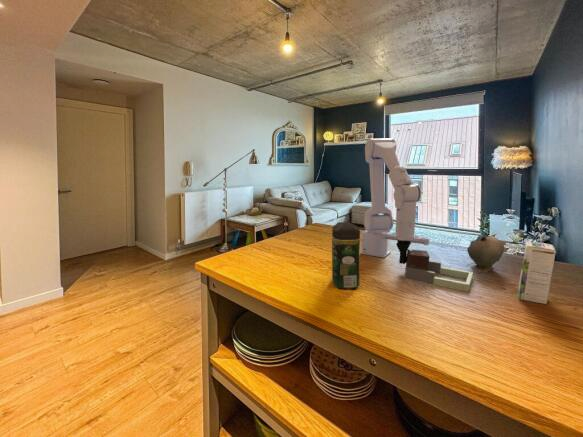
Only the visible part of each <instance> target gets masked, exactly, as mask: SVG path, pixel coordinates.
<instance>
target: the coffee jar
mask: <svg viewBox="0 0 583 437" xmlns="http://www.w3.org/2000/svg"><path fill="white" fill-rule="evenodd" d="M331 236H332V237H331V259H332V260H331V266H332V267H331V272H332V273H331V275H332V284H333V286H334V287H335V288H338V289H343V290H352V289H356V288H358V287H359V285H360V247H361V246H360V245H361V242H360V241H361V231H360V228H359V227H358V226H357V225H356V224H354V223H352V222H350V221H349V222H348V221H347V222H345V221H344V222H341V221H340V222H337V223H335V224H334V225H333V226H332V232H331Z"/></svg>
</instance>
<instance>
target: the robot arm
mask: <svg viewBox="0 0 583 437" xmlns="http://www.w3.org/2000/svg"><path fill="white" fill-rule="evenodd" d="M396 152H397V141H396V140H395V138H393V137H389V138H372V137H371V138H368V139H367V140H366V142H365V146H364V154H365V155H364V156H365V162H366V163H367V164H369V165H368V166H369V180H370V181H369V182H370V184H369V185H370V198H371V201H370V202H371V206H370V208H368V209H367V210H366V211H365V212H364V220H363V226H364V229H365V230H364V231H363V232H362V235H361V250H360V251H361V252H360V254H361V255H367V256H373V257H377V258H385V257H387V256H388V255H389V254H390V253H391V251H390V250H388V243H389V242H388V241H389V240H391V241H396V242H395V243H396V247H397V249H398V251H399V259H398V261H399V264H403V265H406V260H407V250H408V249H409V247H410V246H411V244H412V243H414V244H420V245H424V246H429V244H430V238H429V237H426V236H420V235H415V230H416V229H415V227H416V215H417V214H416V212H417V203H418V202H419V201H420V200H421V196H422V190H421V187H420V185H419V184H418V183H416V182H414V181H412V179H411V177H410V175H409V174H408V172H407V169H406V168H405V167H403V166H401V165H400V162H399V161H400V160H398V156H397V154H396ZM384 164H385V165H386V167H387V169H388V170H389V173H388V177H389V180H390V183H391V184H392V187H393V189H394V192H393V198H394V199H393V200H394V207H395V209H396V214H395V216H396V217H395V224H394V219H393V213H392V211H391V209H390V208H388V207H387V206H386V200H385V182H384V181H385V180H384V179H385V178H384ZM394 225H395V232H390V231H391V230H392V229H393V227H394Z"/></svg>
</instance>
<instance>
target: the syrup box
mask: <svg viewBox="0 0 583 437" xmlns="http://www.w3.org/2000/svg"><path fill="white" fill-rule="evenodd" d="M555 256H556V248H555V246H554V245H553V244H550V243H544V242H537V241H526V242H525V245H524V252H523V257H522V264H521V269H520V277H519V282H518V290H517V295H518V299H519V300H520V301H526V302H530V303H531V302H533V303H539V304H542V305H547V303H548V298H549V293H550V286H551V281H552V277H553V276H552V275H553V270H554V263H555V259H556V258H555Z"/></svg>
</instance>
